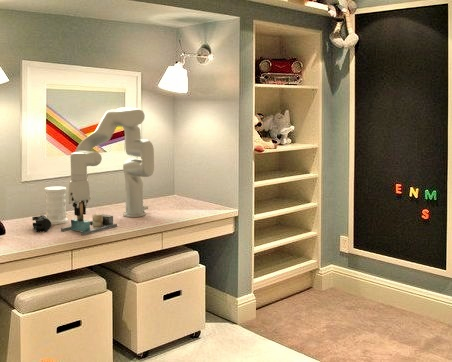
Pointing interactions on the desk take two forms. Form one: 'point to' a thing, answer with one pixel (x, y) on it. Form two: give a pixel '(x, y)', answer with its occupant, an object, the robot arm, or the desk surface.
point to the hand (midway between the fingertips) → (80, 214)
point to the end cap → (41, 223)
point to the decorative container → (56, 204)
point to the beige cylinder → (97, 220)
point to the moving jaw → (80, 221)
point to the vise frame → (106, 223)
